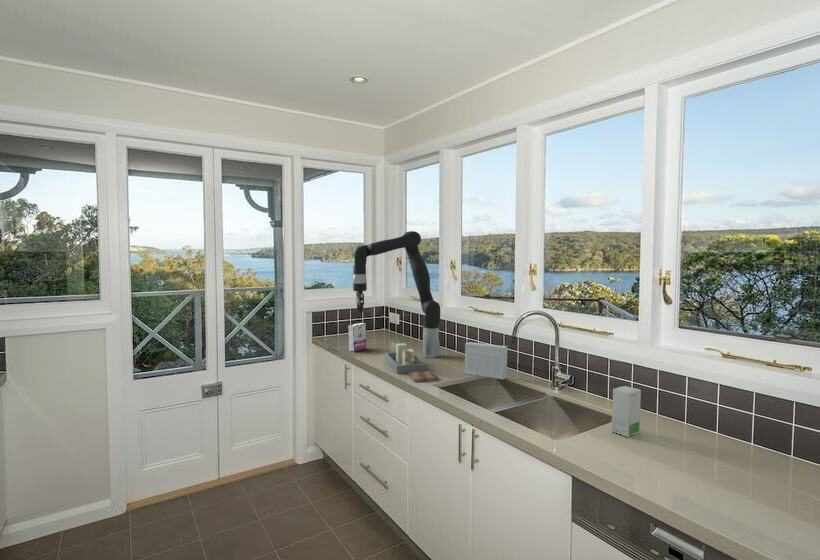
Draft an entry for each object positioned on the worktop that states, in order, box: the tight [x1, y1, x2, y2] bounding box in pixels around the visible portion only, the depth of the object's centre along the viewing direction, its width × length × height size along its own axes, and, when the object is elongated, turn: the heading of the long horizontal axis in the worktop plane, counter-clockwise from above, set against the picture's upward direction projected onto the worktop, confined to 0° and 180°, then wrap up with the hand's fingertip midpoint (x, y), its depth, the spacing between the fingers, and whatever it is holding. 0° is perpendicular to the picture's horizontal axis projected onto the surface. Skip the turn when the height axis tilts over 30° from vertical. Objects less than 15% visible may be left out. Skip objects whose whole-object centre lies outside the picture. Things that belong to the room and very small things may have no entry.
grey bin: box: [384, 351, 428, 374], centre depth 249 cm, size 16×30×4 cm, turn 15°
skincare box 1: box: [464, 341, 508, 381], centre depth 231 cm, size 21×5×16 cm, turn 59°
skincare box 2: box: [610, 385, 642, 438], centre depth 161 cm, size 8×7×16 cm
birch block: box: [401, 348, 415, 365], centre depth 242 cm, size 5×5×10 cm
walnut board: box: [407, 370, 439, 383], centre depth 226 cm, size 12×12×2 cm
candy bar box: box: [347, 322, 367, 353], centre depth 284 cm, size 11×5×16 cm, turn 143°
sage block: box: [395, 342, 408, 364], centre depth 257 cm, size 5×5×10 cm
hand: (360, 311), depth 256 cm, fingers open, 8 cm apart
